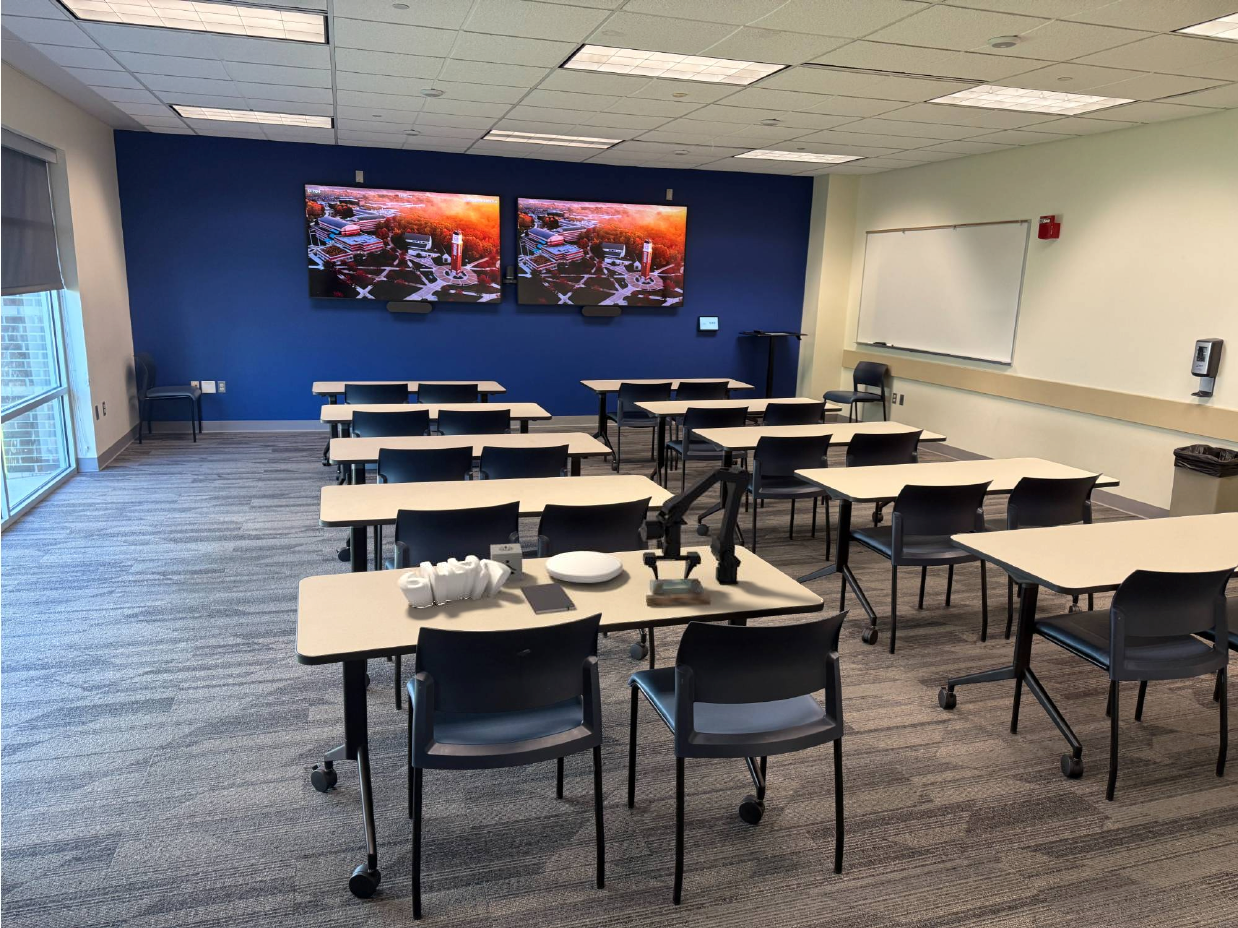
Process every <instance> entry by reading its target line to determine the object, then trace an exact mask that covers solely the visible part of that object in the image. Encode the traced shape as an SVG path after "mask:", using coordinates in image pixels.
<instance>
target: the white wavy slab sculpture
mask: <svg viewBox="0 0 1238 928" xmlns="http://www.w3.org/2000/svg"><path fill="white" fill-rule="evenodd" d="M419 566H420V571H421V576H422V577H420V573H419V571H410V572H406V573H404V574H403V575H401V577H400V578H399V579H398V581H397V585H398V587H399V590H400V591H401V592H402V593H403V596H404V597H405V599H406V600H407V602H408V604H409V605H410V606H411V605H412V606H414V607H426V606H428V605H432V603H433V602H434V601H435V602H436V603H437V604H441V603H446V602H447V601H446V600H457V601H459V600H458V599H461V598H468V597H469V598H471V597H472V598H473V599H474V600H479V599H478V598H480V599H481V598H482V595H483V594H484V593H485V592H486V593H485V594H486V595H487V596H488V598H491V597H496V596H497V595H498V593H499V591H500V590H501V588H502V587H503V585H504V584H505V583H506V582H505V581H506V579H507V577H508V576H509V574H510V573H511V570H510V569H509V568H508V567H507V566H506V565H504V564H502V563H499V562H496V561H492V560H491V559H485V558H483V559H481V560H480V559H479V558H478V557H477V556H475V555H467V556H466V557H465V560H464V561H458V560H457V559H456V558H455V557H453V558H452V557H450V558H448V559H447V562H446V561H443V562H438V563H437V564H436V569H437V570H436V569H435V568H434V567H433V565H432V564H431V562H430V561H424V562H420V563H419ZM470 596H471V597H470ZM469 598H468V599H469ZM472 598H471V599H472ZM473 599H472V600H473ZM447 603H448V602H447ZM412 606H411V607H412Z"/></svg>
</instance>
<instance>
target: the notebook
mask: <svg viewBox="0 0 1238 928" xmlns="http://www.w3.org/2000/svg"><path fill="white" fill-rule="evenodd" d="M520 591H521V592H522V595H524V596H523V597H525V599H526V601H527V602H528V603H529V606H530V607H531V609H532V611H533V612H534V613H535V615H537V614H545V613H552V612H553V613H554V612H563V611H570V610H574V609H575V607H576V605H575V603H574V602H573V600H572V599H571V598H570V596H569V595H568V594H567V593H566V591H565V589H564V588H563V587H562V586H561V584H560V583H559V582H550V583H541V584H532V585H525V586H520Z"/></svg>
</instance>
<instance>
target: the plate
mask: <svg viewBox="0 0 1238 928" xmlns="http://www.w3.org/2000/svg"><path fill="white" fill-rule="evenodd" d="M544 567H545V571H546V573H547V574H548V575H549V576H551V577H553V578H555V579H558V580H560V581H565V582H572V583H580V584H581V583H583V584H584V583H585V584H587V583H588V584H594V583H602V582H607V581H609V580H612V579H613V578H615V577H617V576H618V575H620V574H621V573H622V571H623V568H624V566H623V562H622V560H620V559H619V558H618V557H616V556H613V555H611V554H607V553H603V552H598V551H585V550H584V551H583V550H582V551H581V550H579V551H571V552H564V553H559V554H556V555H554V556H552V557H550V558H549V559H548V560H547V561H546V562H545V565H544Z"/></svg>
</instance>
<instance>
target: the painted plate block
mask: <svg viewBox="0 0 1238 928" xmlns="http://www.w3.org/2000/svg"><path fill="white" fill-rule="evenodd" d="M692 580H699V578H688V579H684V578H668V579H667V578H664V579H659V578H658V580H656V579H650V580H649V592H650V595H653V582H654V581H662V582H663V595H665V594H690V584H691V581H692ZM703 587H704V586H703V584H701V587H700V594H704V593H703V592H704V591H703V590H704V588H703Z"/></svg>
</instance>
